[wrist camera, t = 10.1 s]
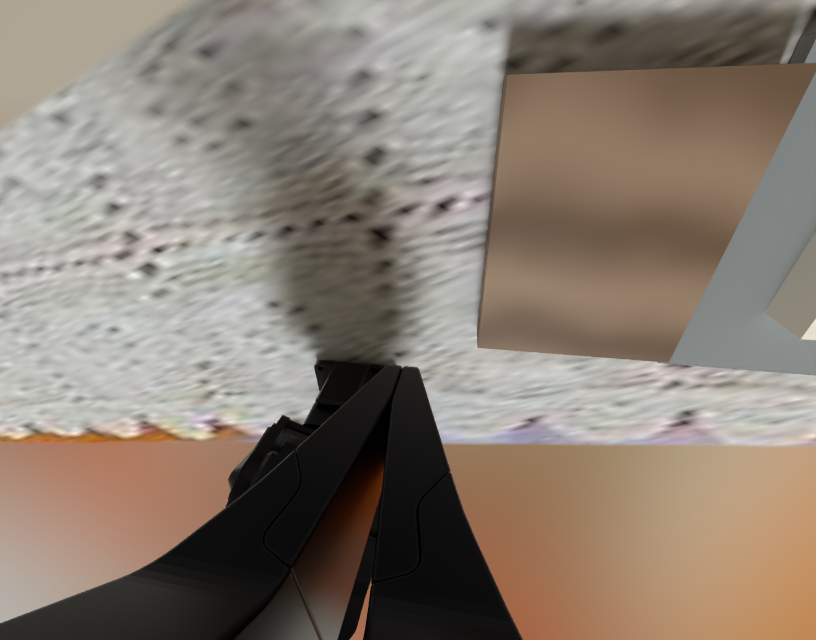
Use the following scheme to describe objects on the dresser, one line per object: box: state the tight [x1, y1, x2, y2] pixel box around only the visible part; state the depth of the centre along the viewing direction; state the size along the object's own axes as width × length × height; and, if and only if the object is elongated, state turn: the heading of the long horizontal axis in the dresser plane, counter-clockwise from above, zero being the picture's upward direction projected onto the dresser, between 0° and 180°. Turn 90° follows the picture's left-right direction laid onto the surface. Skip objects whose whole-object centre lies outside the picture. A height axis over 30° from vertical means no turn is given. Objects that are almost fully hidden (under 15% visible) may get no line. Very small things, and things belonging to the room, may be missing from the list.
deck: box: [477, 63, 816, 362], centre depth 18 cm, size 14×11×2 cm
